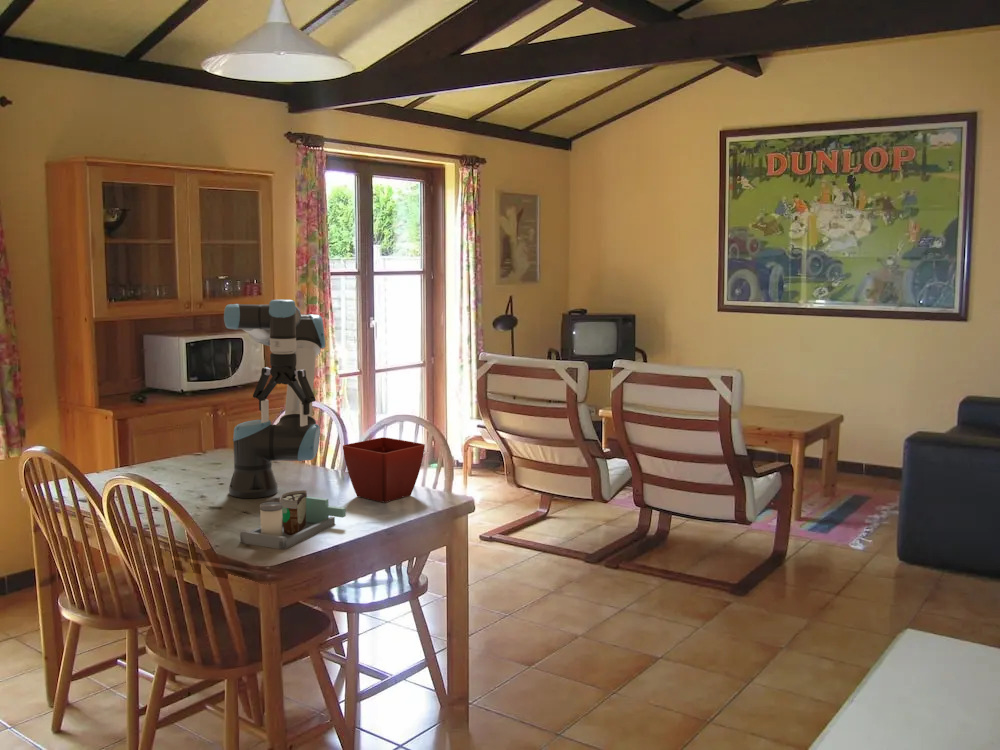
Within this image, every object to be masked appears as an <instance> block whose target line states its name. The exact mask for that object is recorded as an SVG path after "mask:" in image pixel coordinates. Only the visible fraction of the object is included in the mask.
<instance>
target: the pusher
mask: <svg viewBox="0 0 1000 750" xmlns="http://www.w3.org/2000/svg"><path fill="white" fill-rule="evenodd" d="M346 511H347V510H346V507H341V506H335V505H334V506H333V505H329V498H323V497H315V496H308V495H307V497H306V522H311V523H319V522H321V521H323V520H325V519H327V518H329V517H336V518H345V517H346V515H347V514H346V513H347V512H346Z"/></svg>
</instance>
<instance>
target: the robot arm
mask: <svg viewBox="0 0 1000 750" xmlns="http://www.w3.org/2000/svg"><path fill="white" fill-rule="evenodd" d="M223 311H224V312H223V321H224V325H225V328H226V329H228V330H235V331H236V330H242V331H244V332H246V333H247V334H248V336H249V337H250V338H251V339H252V340H253V341H254V342H257V343H258V344H261V345H264V346H267V347H269V350H270V352H271V353H270V354H269V364H270V366H271V367H269V366H266V367H262V368H261V372H260V373H261V374H260V377H259V380H258V382H257V385H256V387H255V390H254V392H253V394H252V397H253V398H254V399H257V400H258V408H259V409H258V410H259V412H260V413H261V415H260V418H261V419H253V420H247V421H244V422H241V423H238V424H237V425H235V427H234V429H233V439H232V441H233V465H234V466H233V468H234V469H233V473H232V476H231V479H230V484H229V487H228V491H229V492H228V494H229V495H230V496H231V497H234V498H240V499H258V498H259V499H260V498H265V497H270V496H273V495H275V494H277V493H278V491H279V490H278V487H279V486H278V482H277V480H276V477H275V475H274V471H273V469H272V465H273V463H272V461H273V462H277V461H279V462H280V461H281V462H284V461H288V462H291V461H292V462H304V461H311V460H313V459H315V457H316V456H317V454H318V451H319V446H320V438H321V437H320V436H321V427H320V425H319V424H318V423H316V421H317V420H316V419H315V418H314V417H313V415H312V414H313V402H315V401H316V397H315V395H314V385H315V383H314V382H315V371H316V370H315V369H316V368H315V367H316V358H317V357H318V356H319V355H320V354H321V349H325V348H326V337H325V336H326V335H325V328H324V321H323V318H322V316H321V315H320V314H312V313H308V314H304V313H303V314H302V313H301V310H300V309H299V308H298V306H296V302H295V300H293V299H271V300H270V301H269V304H265V303H264V304H262V303H260V304H250V303H249V304H246V303H245V304H243V303H233V304H232V303H230V304H227V305H226V306H225V307H224V310H223ZM270 375H271V376H272V377H271V378H270V380H269V377H270ZM268 380H269V381H268ZM267 382H268V383H267ZM277 385H285V386H286V397H285V409H284V414H283V415H282V416H281V417H280V418H279V424H272V422H271V420H270V407H269V402H270V400H269V399H268V397H269V395H270V394H271V393H272V391H273V390H274V388H275V387H276V386H277Z"/></svg>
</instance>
